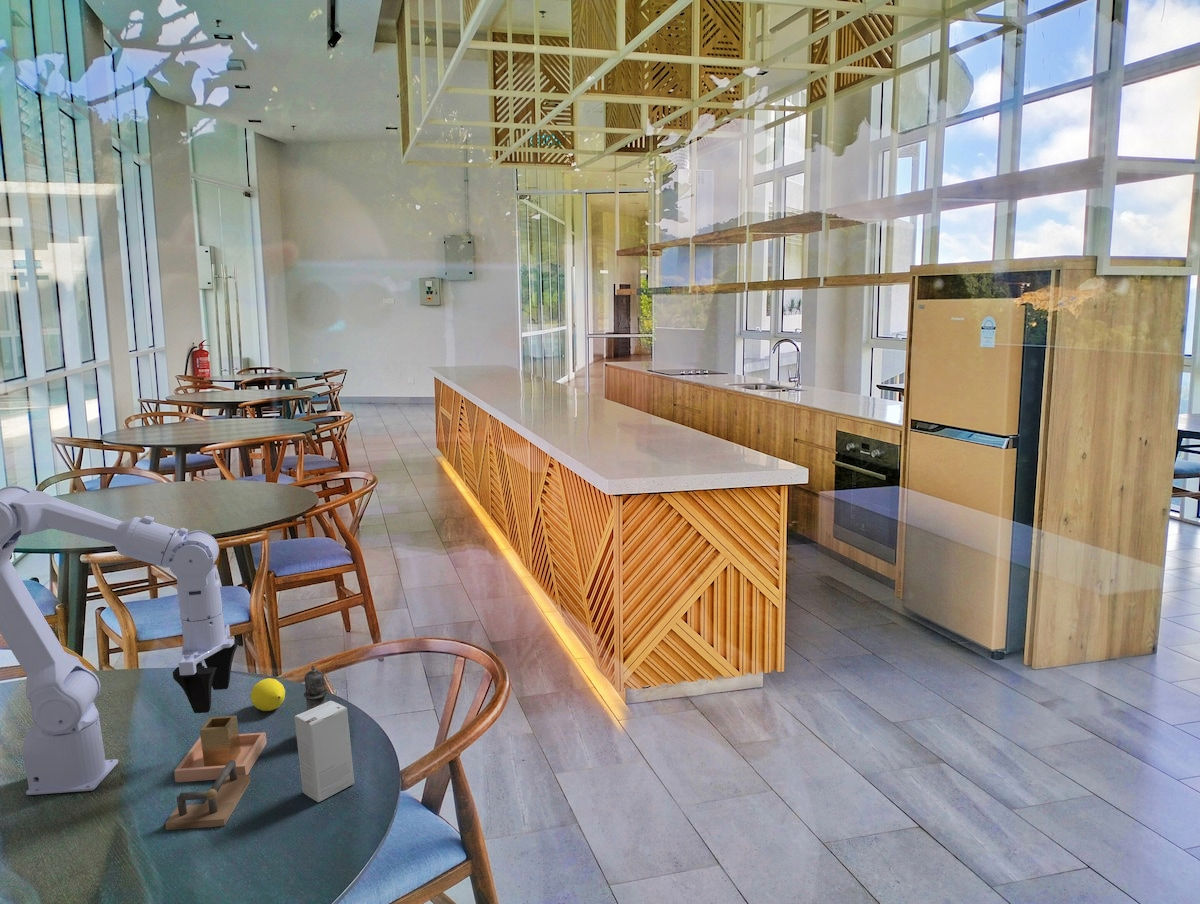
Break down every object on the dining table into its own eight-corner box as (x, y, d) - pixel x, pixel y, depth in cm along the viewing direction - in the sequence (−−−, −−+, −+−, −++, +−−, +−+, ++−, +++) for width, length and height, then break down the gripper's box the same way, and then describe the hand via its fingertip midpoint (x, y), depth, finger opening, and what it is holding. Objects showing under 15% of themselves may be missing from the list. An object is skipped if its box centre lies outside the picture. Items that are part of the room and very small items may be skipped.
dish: (175, 782, 126) (174, 771, 125) (201, 747, 136) (200, 736, 135) (246, 777, 127) (244, 766, 126) (266, 742, 136) (265, 732, 136)
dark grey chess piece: (327, 747, 134) (320, 674, 132) (293, 744, 136) (285, 672, 134) (345, 728, 140) (339, 658, 138) (312, 726, 141) (305, 657, 139)
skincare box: (338, 775, 126) (331, 697, 124) (356, 785, 123) (349, 706, 121) (300, 794, 122) (292, 714, 120) (318, 805, 119) (309, 723, 117)
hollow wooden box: (204, 767, 129) (199, 730, 128) (214, 753, 133) (209, 717, 132) (231, 765, 129) (227, 728, 128) (240, 751, 133) (236, 715, 132)
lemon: (246, 712, 148) (240, 682, 148) (275, 701, 152) (270, 671, 152) (266, 719, 143) (260, 687, 143) (296, 707, 147) (290, 676, 147)
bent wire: (166, 830, 114) (162, 801, 114) (197, 784, 125) (194, 757, 124) (224, 825, 115) (220, 797, 114) (250, 780, 126) (247, 753, 125)
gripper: (211, 631, 121) (221, 721, 124) (245, 596, 136) (254, 677, 138) (159, 634, 121) (170, 724, 123) (199, 598, 135) (209, 680, 138)
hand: (211, 700), depth 131 cm, fingers open, 7 cm apart
